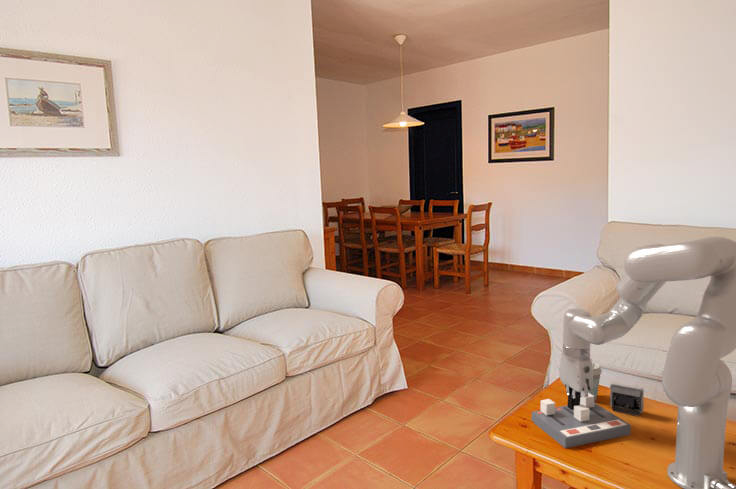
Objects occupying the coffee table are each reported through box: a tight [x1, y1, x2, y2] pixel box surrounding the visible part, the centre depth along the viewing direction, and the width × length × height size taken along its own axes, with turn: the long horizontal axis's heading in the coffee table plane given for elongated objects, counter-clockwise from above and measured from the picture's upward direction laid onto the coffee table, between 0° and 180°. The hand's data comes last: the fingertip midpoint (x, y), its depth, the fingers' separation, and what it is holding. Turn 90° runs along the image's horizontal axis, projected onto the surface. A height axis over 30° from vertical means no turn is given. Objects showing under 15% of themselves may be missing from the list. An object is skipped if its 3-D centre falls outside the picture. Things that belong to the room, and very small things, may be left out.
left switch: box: [540, 398, 556, 416], centre depth 146 cm, size 3×3×4 cm
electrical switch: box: [609, 382, 645, 417], centre depth 151 cm, size 9×5×9 cm, turn 57°
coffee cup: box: [577, 361, 603, 403], centre depth 161 cm, size 8×8×12 cm
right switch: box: [580, 393, 595, 408], centre depth 150 cm, size 3×3×4 cm
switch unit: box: [531, 402, 632, 449], centre depth 143 cm, size 16×22×3 cm
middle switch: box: [574, 404, 590, 422], centre depth 142 cm, size 3×3×4 cm
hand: (573, 408), depth 145 cm, fingers closed
